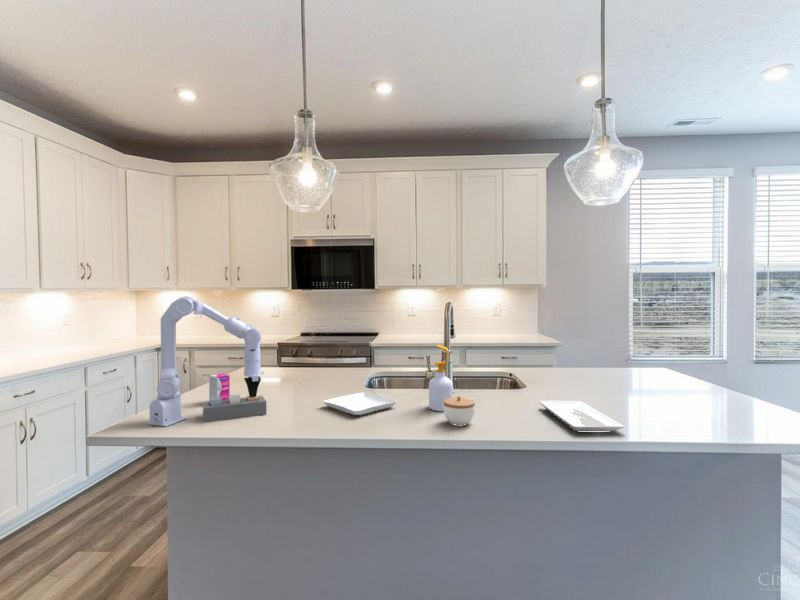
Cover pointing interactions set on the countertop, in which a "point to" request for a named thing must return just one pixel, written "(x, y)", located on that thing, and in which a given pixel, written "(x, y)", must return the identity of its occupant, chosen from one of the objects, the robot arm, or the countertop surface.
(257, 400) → the terracotta key
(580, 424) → the tray
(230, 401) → the white key
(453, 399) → the lidded jar
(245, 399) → the grey socket block
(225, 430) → the countertop surface
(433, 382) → the soap bottle
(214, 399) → the slate key
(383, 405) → the salad plate
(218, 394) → the supplement box
